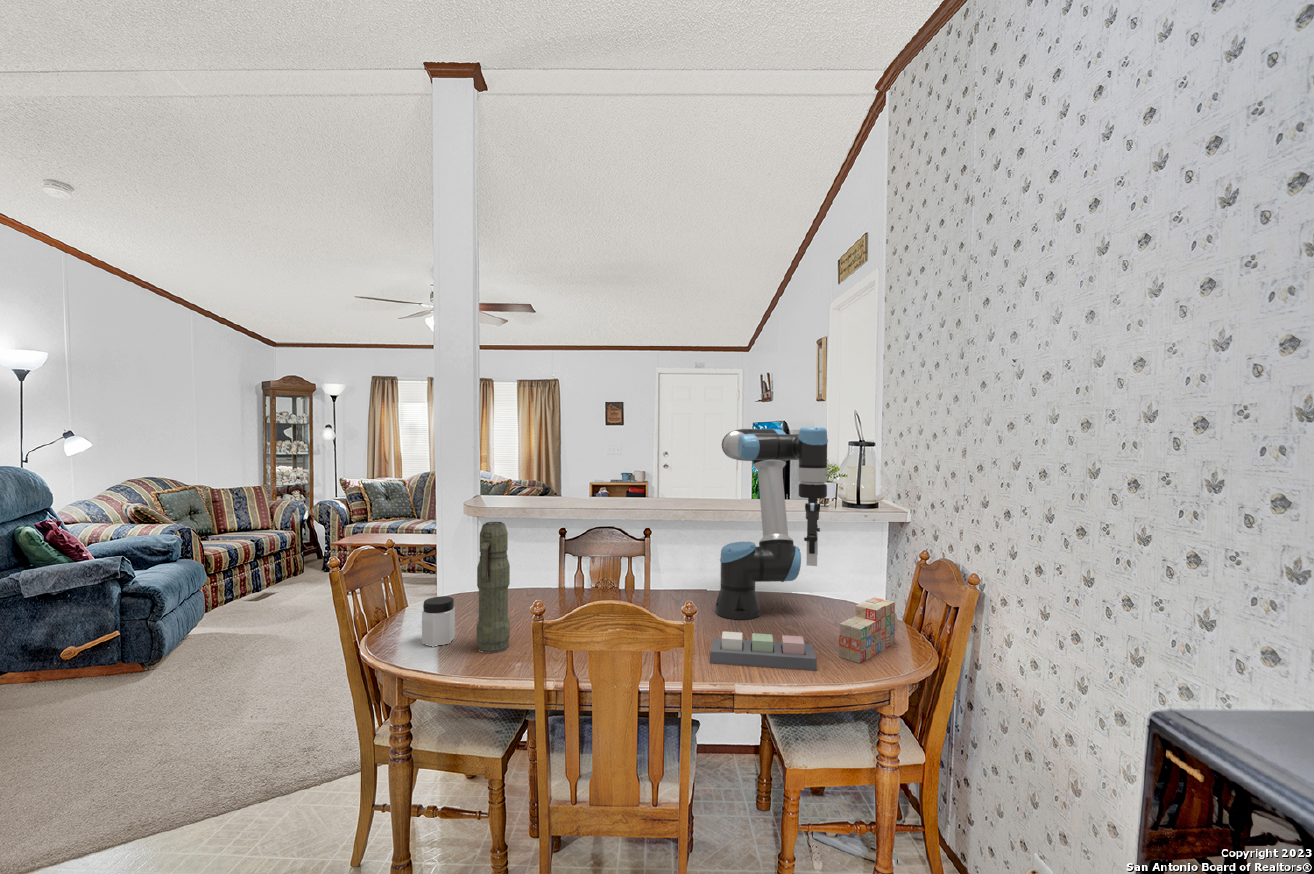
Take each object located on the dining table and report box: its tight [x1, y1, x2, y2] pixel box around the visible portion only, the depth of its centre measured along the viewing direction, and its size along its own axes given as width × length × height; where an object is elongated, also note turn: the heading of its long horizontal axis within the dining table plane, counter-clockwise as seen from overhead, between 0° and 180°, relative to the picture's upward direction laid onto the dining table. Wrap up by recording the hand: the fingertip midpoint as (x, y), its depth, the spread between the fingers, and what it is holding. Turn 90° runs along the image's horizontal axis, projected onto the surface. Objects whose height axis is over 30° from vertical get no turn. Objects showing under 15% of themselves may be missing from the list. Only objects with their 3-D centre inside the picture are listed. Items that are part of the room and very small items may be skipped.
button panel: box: [709, 637, 818, 672], centre depth 148 cm, size 27×10×3 cm, turn 80°
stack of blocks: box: [838, 597, 896, 664], centre depth 155 cm, size 21×6×12 cm, turn 134°
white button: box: [721, 630, 743, 651], centre depth 149 cm, size 5×5×4 cm
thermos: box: [476, 521, 511, 653], centre depth 155 cm, size 9×12×35 cm
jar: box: [421, 595, 456, 646], centre depth 159 cm, size 9×8×12 cm
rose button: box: [781, 634, 805, 655], centre depth 147 cm, size 5×5×4 cm
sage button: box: [751, 632, 774, 653], centre depth 148 cm, size 5×5×4 cm
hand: (812, 560), depth 153 cm, fingers open, 13 cm apart
